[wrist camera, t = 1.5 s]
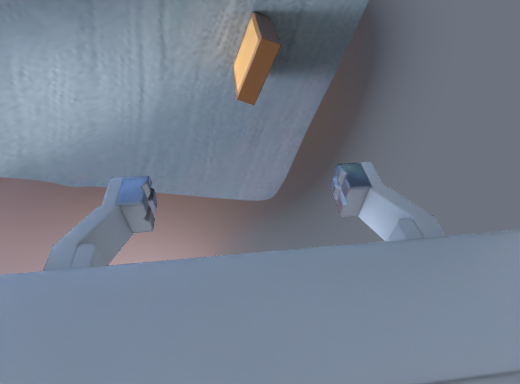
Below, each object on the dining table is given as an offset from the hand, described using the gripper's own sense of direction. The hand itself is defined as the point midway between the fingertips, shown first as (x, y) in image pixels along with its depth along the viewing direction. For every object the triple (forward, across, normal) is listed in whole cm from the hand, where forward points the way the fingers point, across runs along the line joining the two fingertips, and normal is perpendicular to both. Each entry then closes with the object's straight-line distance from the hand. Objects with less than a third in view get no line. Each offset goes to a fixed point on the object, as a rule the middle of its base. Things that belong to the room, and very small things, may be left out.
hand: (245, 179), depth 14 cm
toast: (+34, -3, +8) cm, 35 cm away
